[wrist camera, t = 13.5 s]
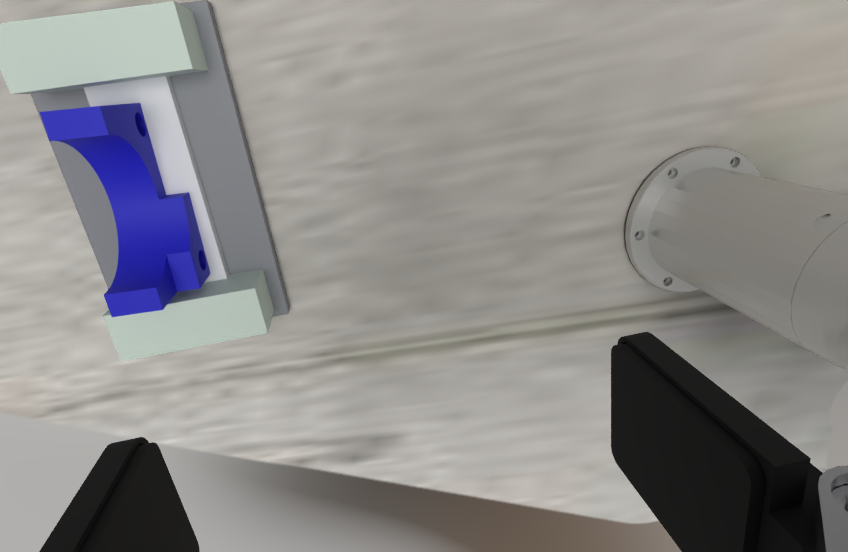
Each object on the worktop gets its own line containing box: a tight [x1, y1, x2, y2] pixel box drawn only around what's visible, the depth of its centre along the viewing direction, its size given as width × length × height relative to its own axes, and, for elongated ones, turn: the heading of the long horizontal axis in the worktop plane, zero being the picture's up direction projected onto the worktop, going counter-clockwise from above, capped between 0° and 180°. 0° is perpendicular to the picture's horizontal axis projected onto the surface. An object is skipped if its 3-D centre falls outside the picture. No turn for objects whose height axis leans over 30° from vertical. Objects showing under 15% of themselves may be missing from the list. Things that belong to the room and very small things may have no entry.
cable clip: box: [39, 103, 211, 317], centre depth 32 cm, size 12×4×6 cm, turn 6°
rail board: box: [0, 0, 290, 362], centre depth 34 cm, size 12×22×5 cm, turn 8°
